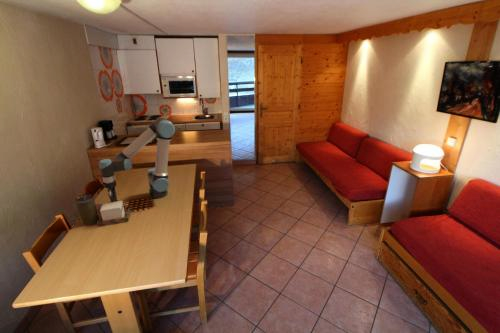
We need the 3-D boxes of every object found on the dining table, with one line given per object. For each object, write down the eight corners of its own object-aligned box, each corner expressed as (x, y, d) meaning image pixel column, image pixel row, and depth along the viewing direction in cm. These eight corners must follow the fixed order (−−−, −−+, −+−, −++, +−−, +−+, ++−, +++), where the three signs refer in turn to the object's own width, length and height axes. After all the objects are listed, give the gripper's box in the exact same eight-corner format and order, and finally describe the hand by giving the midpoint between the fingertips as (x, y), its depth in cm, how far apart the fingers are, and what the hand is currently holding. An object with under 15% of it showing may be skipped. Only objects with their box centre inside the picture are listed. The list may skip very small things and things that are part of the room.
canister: (91, 226, 168) (84, 200, 160) (78, 224, 170) (70, 198, 162) (103, 217, 178) (96, 192, 170) (90, 215, 180) (83, 190, 172)
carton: (125, 213, 182) (122, 200, 178) (123, 221, 173) (120, 207, 169) (106, 216, 178) (103, 203, 174) (103, 224, 169) (100, 210, 165)
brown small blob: (105, 207, 190) (104, 200, 188) (104, 211, 185) (102, 204, 183) (96, 208, 189) (95, 201, 186) (95, 212, 183) (93, 205, 181)
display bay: (130, 211, 185) (129, 207, 184) (128, 221, 173) (127, 217, 171) (102, 215, 180) (101, 211, 179) (98, 226, 167) (97, 222, 166)
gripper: (105, 177, 178) (112, 206, 187) (101, 185, 167) (109, 215, 176) (116, 176, 180) (123, 204, 189) (113, 184, 169) (120, 213, 178)
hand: (116, 209), depth 183 cm, fingers closed
